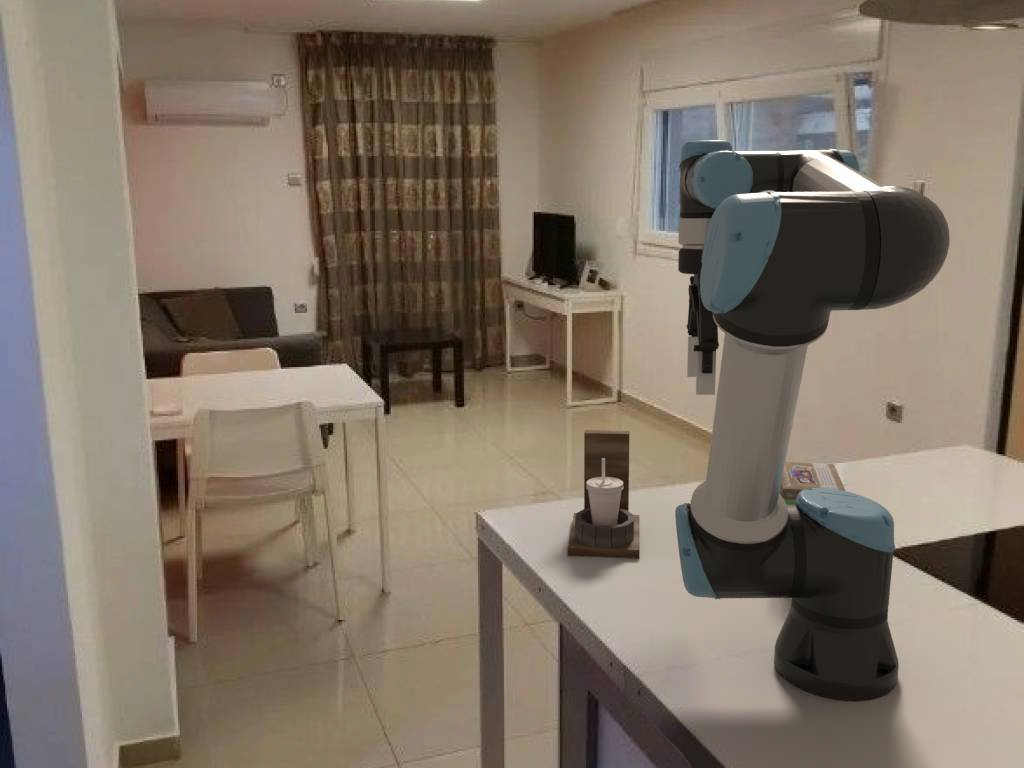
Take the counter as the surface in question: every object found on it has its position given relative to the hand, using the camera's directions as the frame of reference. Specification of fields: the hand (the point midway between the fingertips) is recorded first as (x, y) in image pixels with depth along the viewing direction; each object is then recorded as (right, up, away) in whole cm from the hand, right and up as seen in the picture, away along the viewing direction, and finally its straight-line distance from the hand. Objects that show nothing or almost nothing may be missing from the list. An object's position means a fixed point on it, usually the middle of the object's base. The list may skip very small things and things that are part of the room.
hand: (700, 385), depth 143 cm
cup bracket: (-13, -27, +20) cm, 36 cm away
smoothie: (-13, -26, +17) cm, 34 cm away
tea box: (+19, -29, +10) cm, 36 cm away
